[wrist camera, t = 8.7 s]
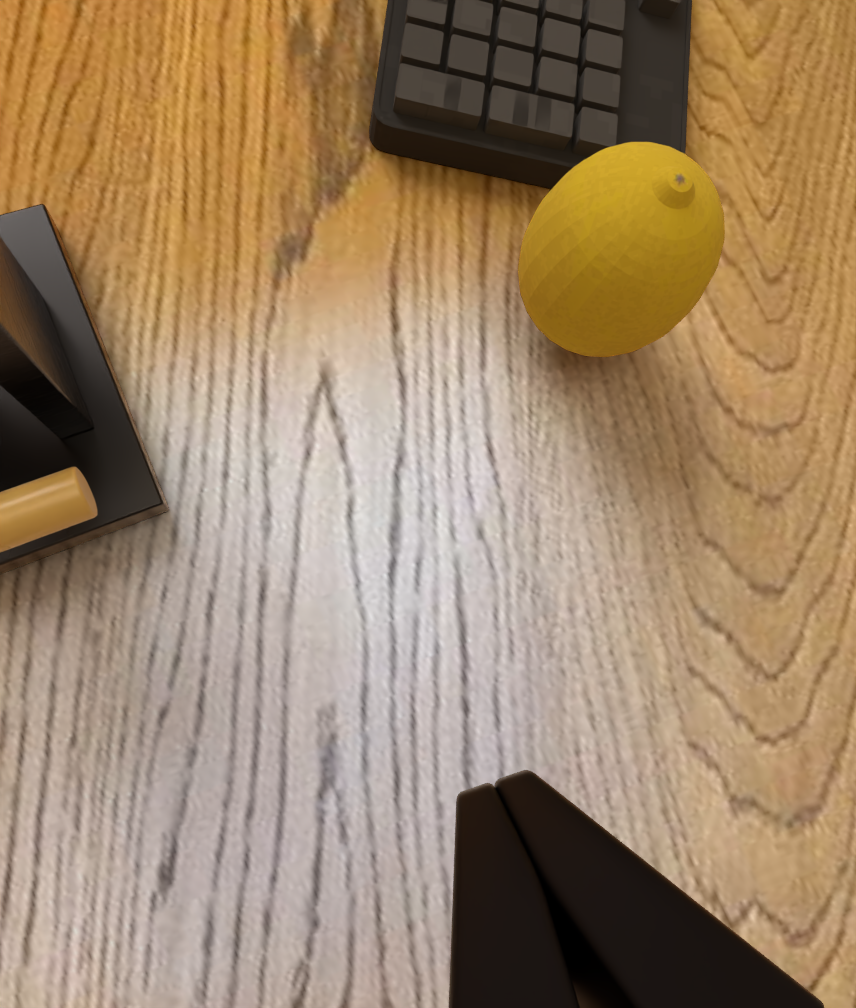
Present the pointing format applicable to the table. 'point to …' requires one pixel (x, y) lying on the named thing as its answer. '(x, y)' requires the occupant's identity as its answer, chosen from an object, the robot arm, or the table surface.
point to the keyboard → (530, 82)
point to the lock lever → (44, 507)
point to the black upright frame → (62, 391)
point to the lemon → (621, 249)
